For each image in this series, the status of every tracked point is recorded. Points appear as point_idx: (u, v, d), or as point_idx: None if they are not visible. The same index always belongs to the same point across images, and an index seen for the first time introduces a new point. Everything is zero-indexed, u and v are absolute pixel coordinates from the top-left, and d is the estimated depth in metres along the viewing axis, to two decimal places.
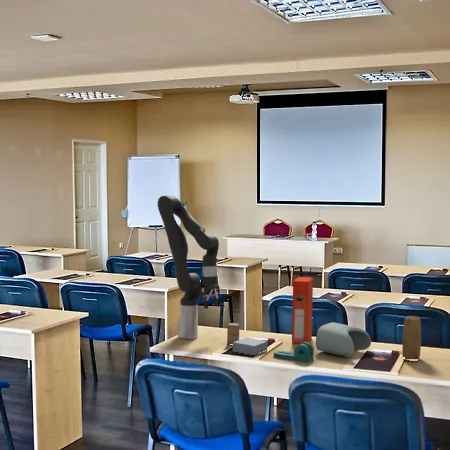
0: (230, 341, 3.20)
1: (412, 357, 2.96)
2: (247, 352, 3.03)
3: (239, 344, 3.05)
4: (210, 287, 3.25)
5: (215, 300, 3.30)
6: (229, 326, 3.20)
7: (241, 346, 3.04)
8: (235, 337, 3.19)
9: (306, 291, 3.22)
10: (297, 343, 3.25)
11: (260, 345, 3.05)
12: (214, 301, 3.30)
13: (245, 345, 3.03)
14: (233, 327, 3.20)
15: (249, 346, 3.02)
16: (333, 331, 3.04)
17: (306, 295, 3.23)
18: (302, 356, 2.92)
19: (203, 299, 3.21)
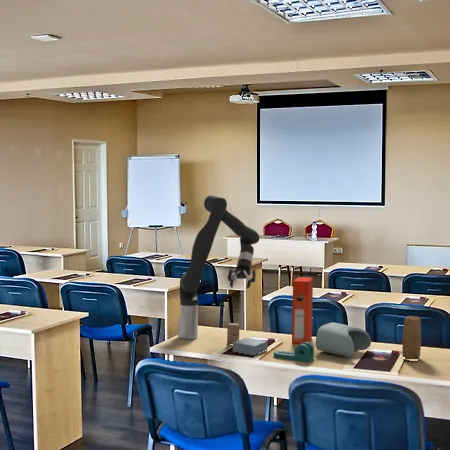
0: (230, 341, 3.20)
1: (412, 357, 2.96)
2: (247, 352, 3.03)
3: (239, 344, 3.05)
4: None
5: (233, 282, 3.34)
6: (229, 326, 3.20)
7: (241, 346, 3.04)
8: (235, 337, 3.19)
9: (306, 291, 3.22)
10: (297, 343, 3.25)
11: (260, 345, 3.05)
12: (232, 282, 3.34)
13: (245, 345, 3.03)
14: (233, 327, 3.20)
15: (249, 346, 3.02)
16: (333, 331, 3.04)
17: (306, 295, 3.23)
18: (302, 356, 2.92)
19: (254, 280, 3.33)
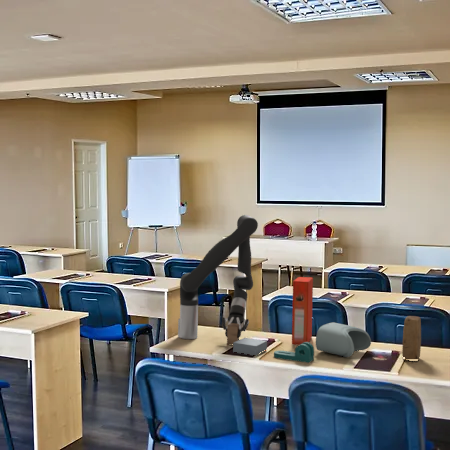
0: (230, 341, 3.20)
1: (412, 357, 2.96)
2: (248, 352, 3.03)
3: (240, 344, 3.05)
4: None
5: None
6: (229, 326, 3.20)
7: (242, 346, 3.04)
8: (235, 337, 3.19)
9: (306, 291, 3.22)
10: (297, 343, 3.25)
11: (261, 345, 3.05)
12: None
13: (246, 345, 3.03)
14: (233, 327, 3.20)
15: (250, 346, 3.02)
16: (333, 331, 3.04)
17: (306, 295, 3.23)
18: (303, 356, 2.92)
19: (244, 330, 3.23)
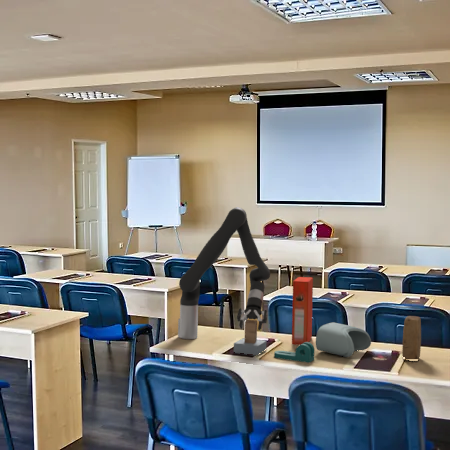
0: (247, 339, 3.07)
1: (412, 357, 2.96)
2: (249, 352, 3.03)
3: (241, 345, 3.04)
4: None
5: None
6: (247, 323, 3.06)
7: (243, 347, 3.04)
8: (253, 334, 3.06)
9: (306, 291, 3.22)
10: (297, 343, 3.25)
11: (261, 345, 3.06)
12: (242, 323, 3.09)
13: (247, 345, 3.03)
14: (250, 324, 3.06)
15: (251, 346, 3.02)
16: (333, 331, 3.04)
17: (306, 295, 3.23)
18: (303, 356, 2.92)
19: (266, 321, 3.09)
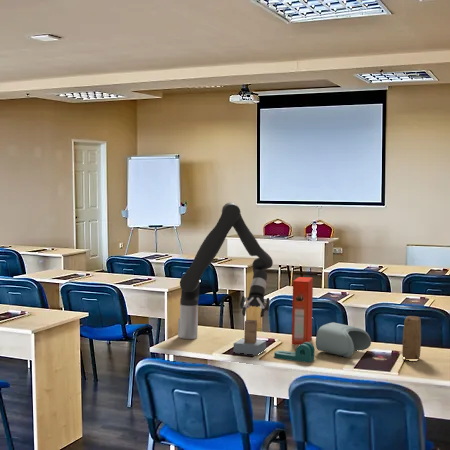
0: (247, 339, 3.06)
1: (412, 357, 2.96)
2: (249, 352, 3.03)
3: (240, 345, 3.04)
4: None
5: (245, 310, 3.16)
6: (246, 323, 3.06)
7: (243, 346, 3.04)
8: (253, 334, 3.06)
9: (306, 291, 3.22)
10: (297, 343, 3.25)
11: (261, 345, 3.06)
12: (245, 310, 3.16)
13: (247, 345, 3.03)
14: (250, 324, 3.06)
15: (251, 346, 3.02)
16: (333, 331, 3.04)
17: (306, 295, 3.23)
18: (303, 356, 2.92)
19: (268, 309, 3.15)
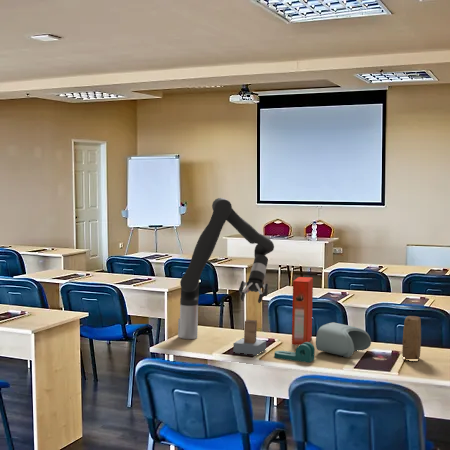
0: (247, 339, 3.06)
1: (412, 357, 2.96)
2: (249, 352, 3.03)
3: (240, 344, 3.04)
4: None
5: (244, 295, 3.23)
6: (246, 323, 3.06)
7: (242, 346, 3.04)
8: (252, 334, 3.06)
9: (306, 291, 3.22)
10: (297, 343, 3.25)
11: (261, 345, 3.06)
12: (244, 295, 3.22)
13: (247, 345, 3.03)
14: (250, 324, 3.06)
15: (251, 346, 3.02)
16: (333, 331, 3.04)
17: (306, 295, 3.23)
18: (303, 356, 2.92)
19: (266, 294, 3.21)
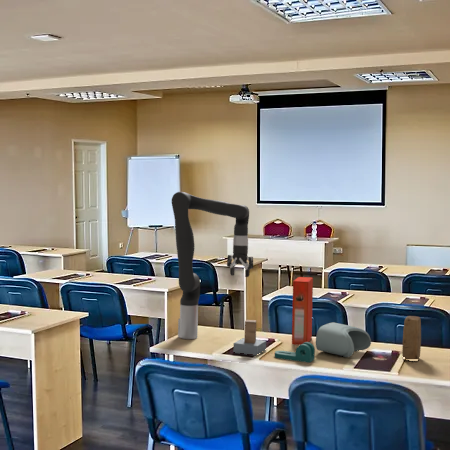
0: (247, 339, 3.06)
1: (412, 357, 2.96)
2: (249, 352, 3.03)
3: (240, 345, 3.04)
4: None
5: (233, 269, 3.31)
6: (247, 323, 3.06)
7: (242, 346, 3.04)
8: (253, 334, 3.06)
9: (306, 291, 3.22)
10: (297, 343, 3.25)
11: (261, 345, 3.06)
12: (233, 270, 3.30)
13: (247, 345, 3.03)
14: (250, 324, 3.06)
15: (251, 346, 3.02)
16: (333, 331, 3.04)
17: (306, 295, 3.23)
18: (303, 356, 2.92)
19: (252, 267, 3.25)
